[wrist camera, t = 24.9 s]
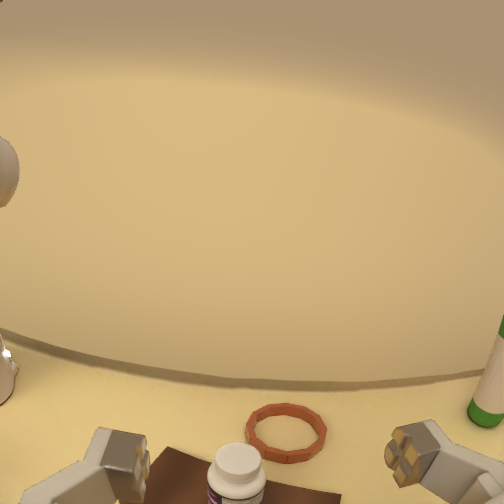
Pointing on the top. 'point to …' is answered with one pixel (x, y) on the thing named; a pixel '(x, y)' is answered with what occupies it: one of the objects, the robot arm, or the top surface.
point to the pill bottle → (236, 475)
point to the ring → (283, 455)
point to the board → (196, 488)
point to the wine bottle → (490, 387)
